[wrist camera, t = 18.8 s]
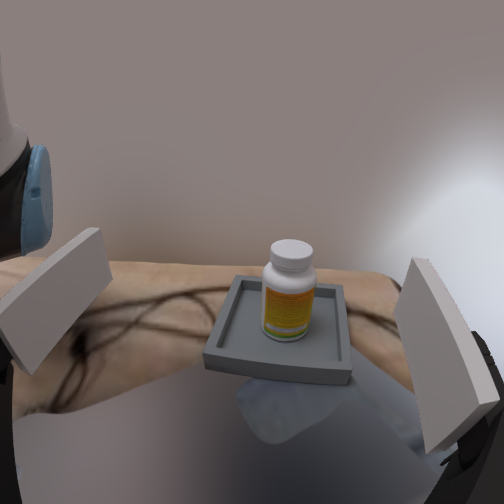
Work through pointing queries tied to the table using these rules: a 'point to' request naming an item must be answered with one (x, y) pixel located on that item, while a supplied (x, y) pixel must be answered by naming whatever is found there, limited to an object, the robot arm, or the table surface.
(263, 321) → the supplement bottle
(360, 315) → the table surface
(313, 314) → the grey tray
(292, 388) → the table surface
